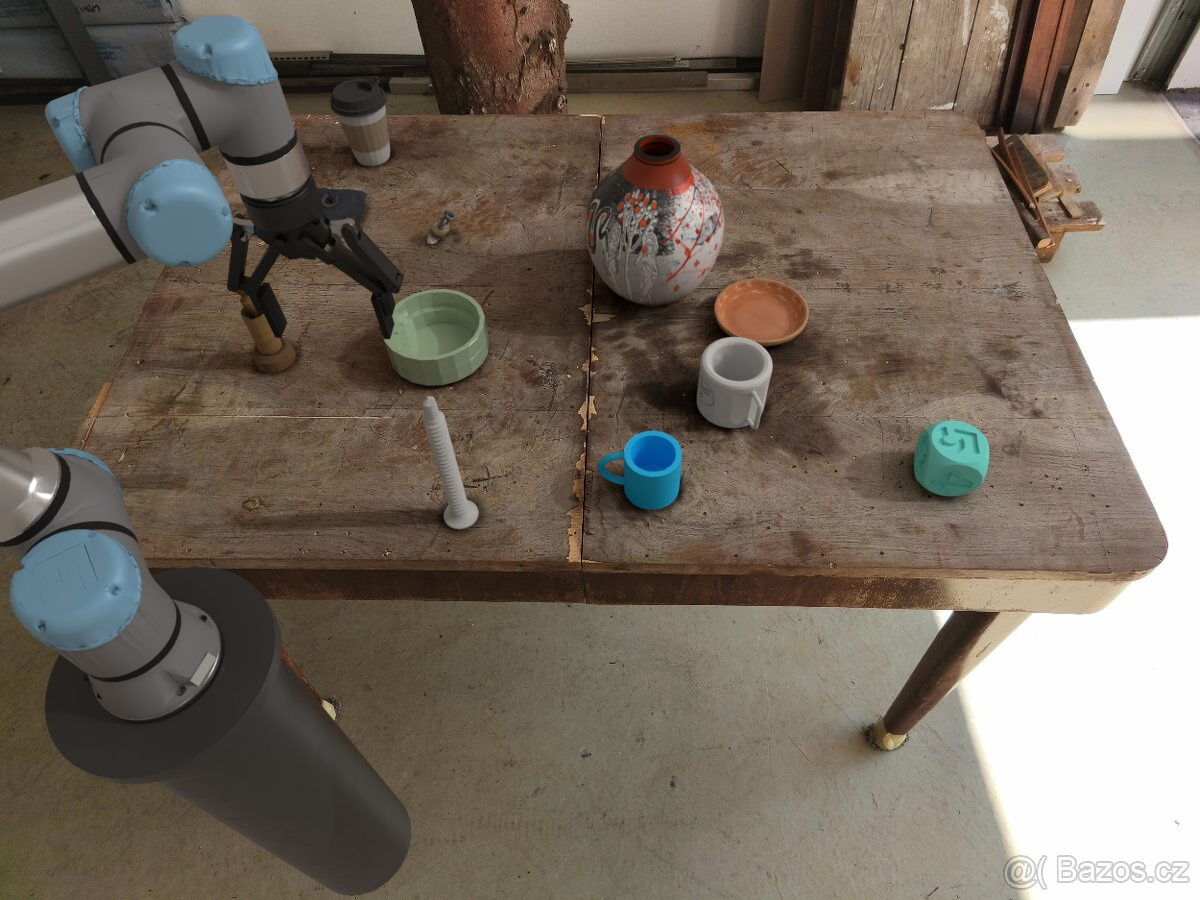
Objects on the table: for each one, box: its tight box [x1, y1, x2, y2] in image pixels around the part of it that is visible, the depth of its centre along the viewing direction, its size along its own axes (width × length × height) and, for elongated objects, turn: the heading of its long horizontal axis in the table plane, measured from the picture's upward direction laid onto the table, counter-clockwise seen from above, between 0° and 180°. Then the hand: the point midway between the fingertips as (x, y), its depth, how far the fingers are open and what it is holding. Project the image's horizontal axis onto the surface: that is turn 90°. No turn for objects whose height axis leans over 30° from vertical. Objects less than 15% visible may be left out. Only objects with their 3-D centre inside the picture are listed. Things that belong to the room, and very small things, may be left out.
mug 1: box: [597, 430, 683, 511], centre depth 116 cm, size 12×8×8 cm
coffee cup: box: [329, 77, 391, 167], centre depth 168 cm, size 11×11×15 cm
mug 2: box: [696, 336, 774, 430], centre depth 124 cm, size 14×11×10 cm
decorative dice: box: [913, 419, 990, 497], centre depth 116 cm, size 8×8×8 cm
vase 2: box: [584, 134, 725, 307], centre depth 135 cm, size 23×23×28 cm
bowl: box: [382, 288, 490, 386], centre depth 135 cm, size 17×17×7 cm
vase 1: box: [426, 209, 456, 245], centre depth 154 cm, size 5×5×6 cm
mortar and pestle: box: [234, 274, 297, 374], centre depth 130 cm, size 7×6×18 cm
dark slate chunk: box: [248, 186, 368, 239], centre depth 160 cm, size 15×22×5 cm
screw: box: [421, 395, 479, 530], centre depth 107 cm, size 5×26×5 cm
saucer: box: [713, 277, 810, 347], centre depth 139 cm, size 16×16×3 cm
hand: (335, 331), depth 100 cm, fingers open, 13 cm apart
